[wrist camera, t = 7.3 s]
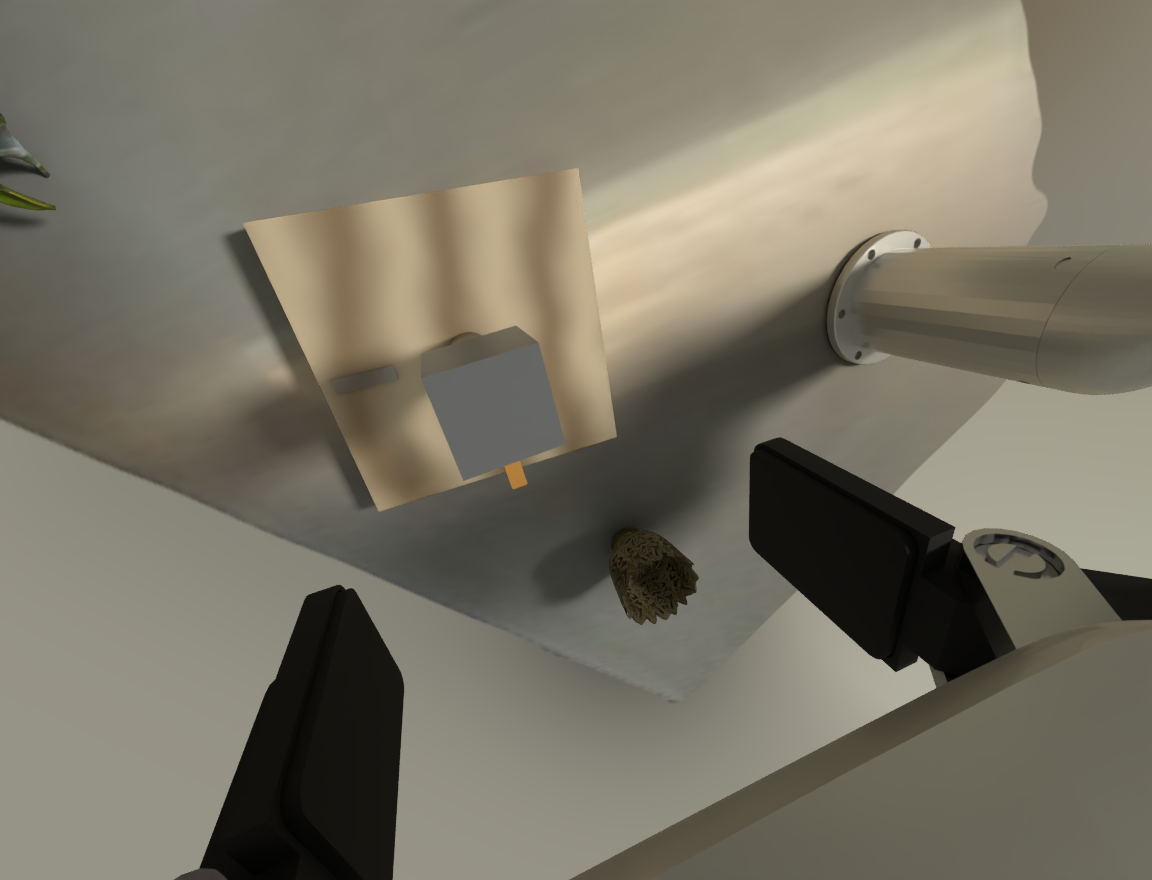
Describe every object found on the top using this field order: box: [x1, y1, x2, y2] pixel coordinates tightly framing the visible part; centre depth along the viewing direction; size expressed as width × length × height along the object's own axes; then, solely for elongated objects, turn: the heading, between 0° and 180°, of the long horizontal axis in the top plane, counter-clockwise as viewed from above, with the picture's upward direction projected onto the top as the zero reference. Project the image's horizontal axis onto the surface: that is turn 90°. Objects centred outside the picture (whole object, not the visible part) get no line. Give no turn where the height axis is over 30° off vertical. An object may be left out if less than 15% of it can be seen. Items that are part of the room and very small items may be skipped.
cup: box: [609, 528, 699, 625], centre depth 41 cm, size 8×7×8 cm
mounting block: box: [243, 168, 617, 511], centre depth 28 cm, size 20×20×8 cm
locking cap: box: [421, 326, 566, 490], centre depth 23 cm, size 10×5×7 cm, turn 13°
